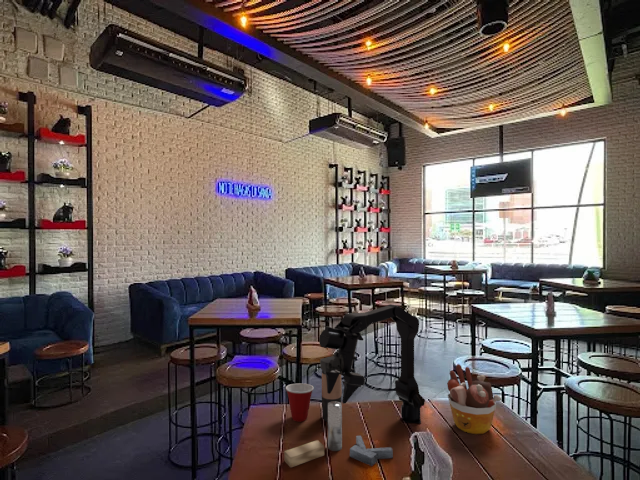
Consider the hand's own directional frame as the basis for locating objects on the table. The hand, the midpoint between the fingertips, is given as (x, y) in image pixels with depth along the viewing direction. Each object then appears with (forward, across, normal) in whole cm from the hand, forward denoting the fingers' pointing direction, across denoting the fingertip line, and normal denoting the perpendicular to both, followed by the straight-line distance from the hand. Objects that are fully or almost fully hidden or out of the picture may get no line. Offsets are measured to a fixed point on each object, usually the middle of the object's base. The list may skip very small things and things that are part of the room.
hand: (336, 398), depth 125 cm
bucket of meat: (+1, +15, +51) cm, 53 cm away
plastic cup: (+15, -23, +2) cm, 27 cm away
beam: (+18, +2, -8) cm, 20 cm away
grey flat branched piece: (+13, +11, +9) cm, 19 cm away
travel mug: (+12, -16, +12) cm, 24 cm away
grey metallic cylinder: (+15, +2, +3) cm, 15 cm away
